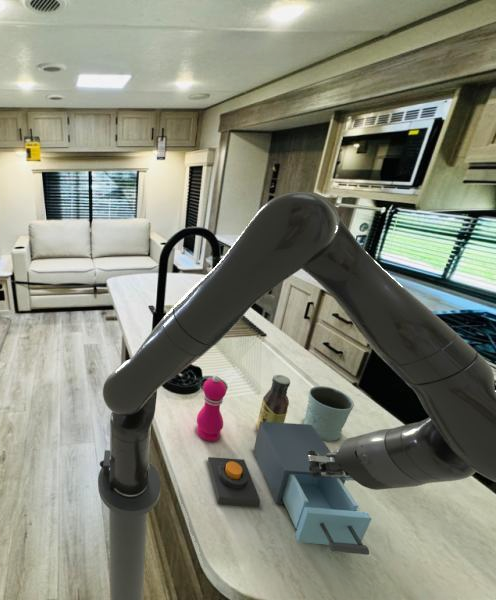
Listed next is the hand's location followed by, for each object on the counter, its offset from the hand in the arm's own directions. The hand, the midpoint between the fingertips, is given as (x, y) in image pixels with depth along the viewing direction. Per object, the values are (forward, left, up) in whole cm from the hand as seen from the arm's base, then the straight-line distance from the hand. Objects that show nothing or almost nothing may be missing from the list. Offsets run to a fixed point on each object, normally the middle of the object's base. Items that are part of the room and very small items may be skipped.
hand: (313, 471), depth 61 cm
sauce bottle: (+4, +26, -16) cm, 31 cm away
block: (-11, +9, -16) cm, 21 cm away
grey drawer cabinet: (+4, +12, -16) cm, 20 cm away
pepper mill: (-13, +25, -16) cm, 32 cm away
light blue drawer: (+4, 0, -15) cm, 15 cm away
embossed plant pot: (+20, +29, -16) cm, 38 cm away
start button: (-11, +9, -12) cm, 19 cm away
